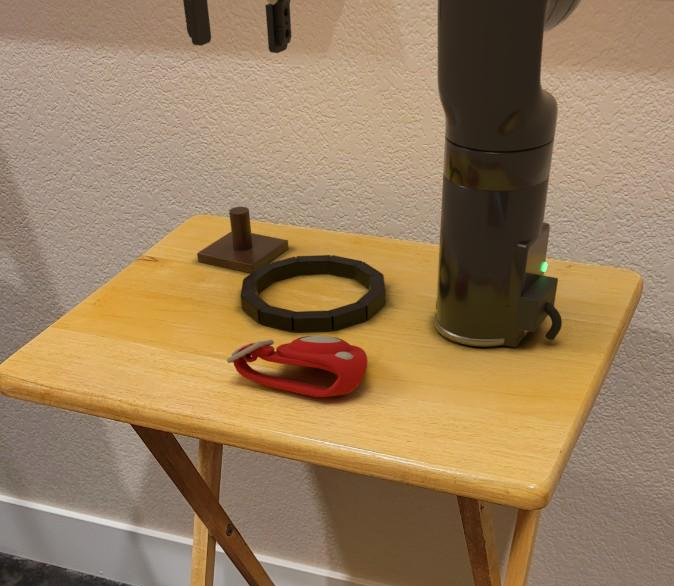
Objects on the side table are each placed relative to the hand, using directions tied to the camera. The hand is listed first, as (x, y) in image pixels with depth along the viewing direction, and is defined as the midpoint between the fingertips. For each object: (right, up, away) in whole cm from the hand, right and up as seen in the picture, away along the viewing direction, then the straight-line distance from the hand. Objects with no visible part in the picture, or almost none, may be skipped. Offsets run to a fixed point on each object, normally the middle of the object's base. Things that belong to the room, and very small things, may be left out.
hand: (239, 47), depth 82 cm
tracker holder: (+6, -31, -1) cm, 31 cm away
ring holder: (-2, -12, +19) cm, 22 cm away
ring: (+7, -20, +10) cm, 23 cm away
